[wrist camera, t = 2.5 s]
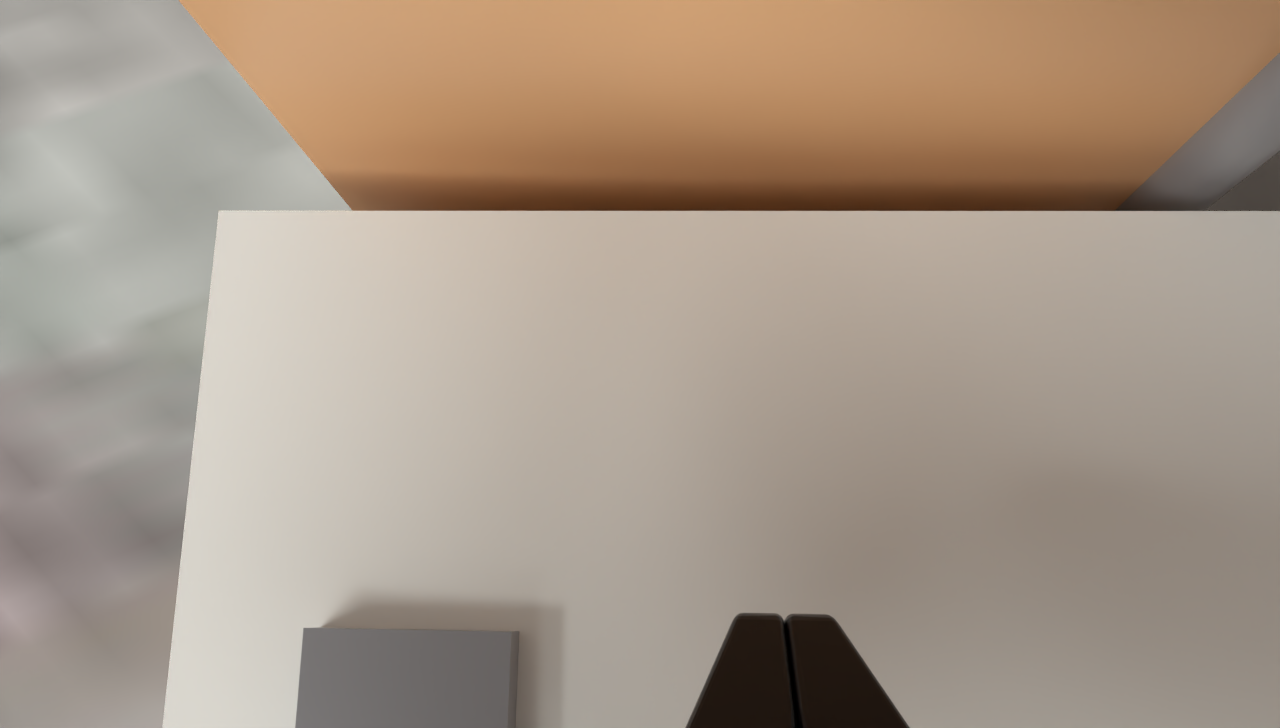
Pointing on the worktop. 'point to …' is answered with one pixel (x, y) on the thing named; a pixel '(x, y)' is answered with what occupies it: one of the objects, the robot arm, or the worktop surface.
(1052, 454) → the white box
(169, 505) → the worktop surface
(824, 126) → the tan flat square panel
